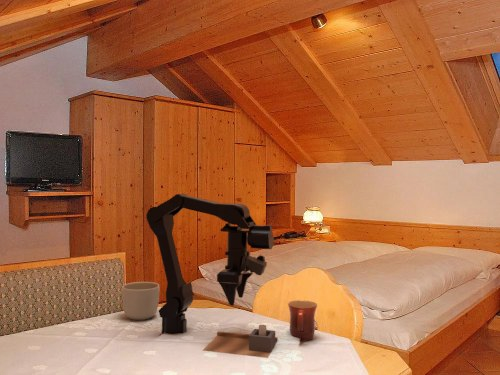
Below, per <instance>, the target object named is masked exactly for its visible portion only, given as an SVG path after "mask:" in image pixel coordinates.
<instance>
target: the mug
mask: <svg viewBox="0 0 500 375" xmlns="http://www.w3.org/2000/svg"><path fill="white" fill-rule="evenodd" d="M287 306H288V309H289V317H290V319H289V333H290V335H291V336H292V337H294V338H297V339H299V342H308V340H309V341H311V340H312V339H314V337H315V327H316V326H315V324H316V323H315V314H316V310H317V307H318V303H316V302H314V301H312V300H305V299H304V300H302V299H299V300H291V301H289V302H288V303H287Z"/></svg>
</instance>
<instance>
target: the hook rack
mask: <svg viewBox="0 0 500 375" xmlns="http://www.w3.org/2000/svg"><path fill="white" fill-rule="evenodd" d="M258 329H259V335H261V336H266V330H267V325H265V324H259V325H258ZM249 335H250V333H249V334H248V333H246V334H245V333H239V332H238V333H236V332H228V331H217V332H216V336H215V337H214V338H213V339H212V340H211V341H210V342H209V343H208V344H207V345H206V346H205V347H204V348H203V349H202V351H203V352H214V353H220V354H221V353H222V354H232V355H239V356H246V357H247V356H250V357H258V358H266V359H268V358H269V357H270V355H271V353H272V351H273V350H272V351H271V353H267V352H258V351H250V350H249ZM278 341H279V340H278V337H277V336H275V346H276V345H277V343H278Z"/></svg>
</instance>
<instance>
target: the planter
mask: <svg viewBox="0 0 500 375" xmlns="http://www.w3.org/2000/svg"><path fill="white" fill-rule="evenodd" d="M121 296H122V306H123V307H122V309H123V313H124V315H125V316H126V317H127V318H128V319H130V320H132V321H143V320H144V321H146V320H149V319H151V318H153V317H154V316H156V314H157V312H158V307H159V302H160V300H159V298H160V284H159V283H157V282H154V281H153V282H152V281H136V282H129V283H125V284H123V285H121Z"/></svg>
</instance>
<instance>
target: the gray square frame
mask: <svg viewBox="0 0 500 375" xmlns="http://www.w3.org/2000/svg"><path fill="white" fill-rule="evenodd" d="M275 337H276V330H273V329H266V336H261V335H259V328H254V329H253V330H252V331H251V332H250V333H249V350H250V351H258V352H267V353H270V354H271V353H272V352H271V351H273V350H274V349H275V346H276V345H275Z"/></svg>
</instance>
